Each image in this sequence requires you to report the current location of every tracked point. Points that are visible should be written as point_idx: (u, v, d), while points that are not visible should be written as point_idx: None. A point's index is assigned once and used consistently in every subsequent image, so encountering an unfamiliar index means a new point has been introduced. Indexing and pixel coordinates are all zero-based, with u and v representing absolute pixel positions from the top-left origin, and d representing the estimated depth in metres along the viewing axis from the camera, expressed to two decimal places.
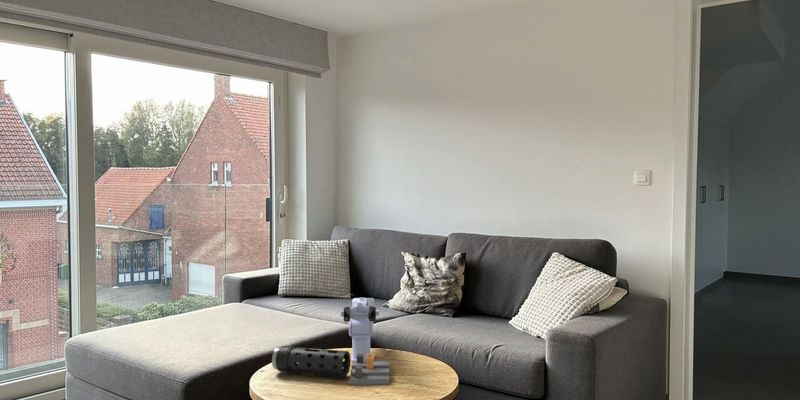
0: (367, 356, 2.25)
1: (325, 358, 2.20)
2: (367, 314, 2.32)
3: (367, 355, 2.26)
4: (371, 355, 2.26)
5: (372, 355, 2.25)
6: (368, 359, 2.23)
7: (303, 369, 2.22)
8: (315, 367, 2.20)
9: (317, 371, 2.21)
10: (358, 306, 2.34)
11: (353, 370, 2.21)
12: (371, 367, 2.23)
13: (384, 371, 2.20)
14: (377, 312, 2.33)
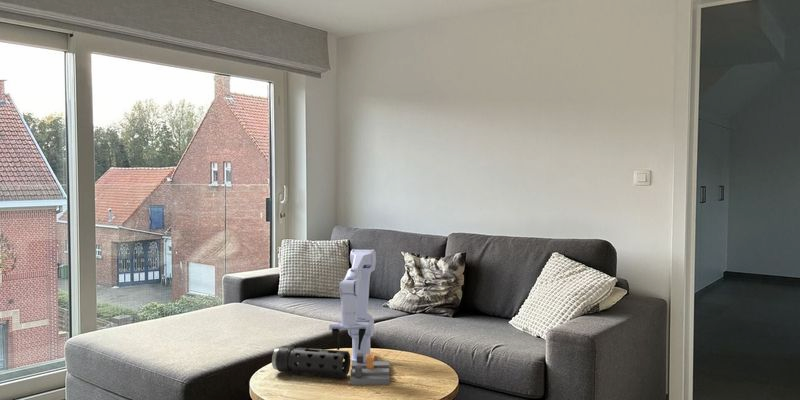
0: (367, 356, 2.25)
1: (325, 358, 2.20)
2: None
3: (367, 355, 2.26)
4: (371, 355, 2.26)
5: (372, 355, 2.25)
6: (368, 359, 2.23)
7: (303, 369, 2.22)
8: (315, 367, 2.20)
9: (317, 371, 2.21)
10: (347, 327, 2.22)
11: (353, 370, 2.21)
12: (371, 367, 2.23)
13: (384, 371, 2.20)
14: (367, 329, 2.24)
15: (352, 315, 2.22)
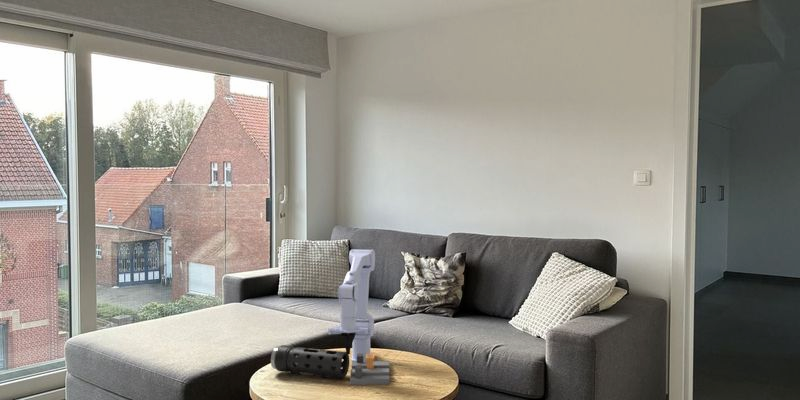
0: (367, 356, 2.25)
1: (323, 359, 2.19)
2: None
3: (367, 355, 2.26)
4: (371, 355, 2.26)
5: (372, 355, 2.25)
6: (368, 359, 2.23)
7: (302, 370, 2.22)
8: (314, 368, 2.20)
9: (316, 372, 2.20)
10: None
11: (353, 370, 2.21)
12: (371, 367, 2.23)
13: (384, 371, 2.20)
14: (366, 333, 2.24)
15: (351, 320, 2.22)
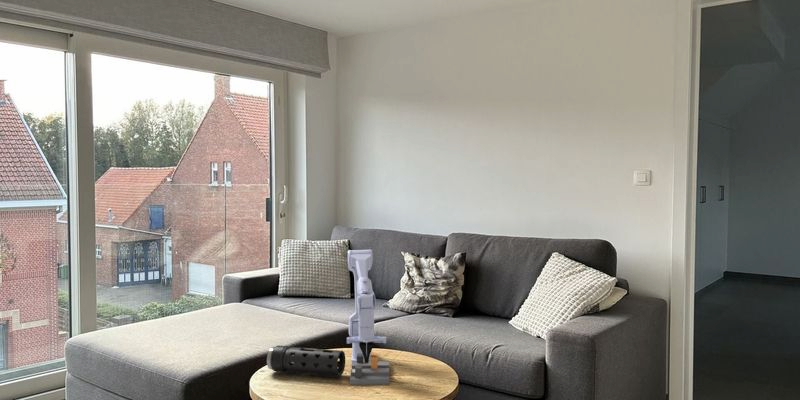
0: (371, 355, 2.25)
1: (320, 357, 2.20)
2: None
3: (371, 355, 2.26)
4: (375, 355, 2.26)
5: (376, 355, 2.26)
6: (372, 359, 2.23)
7: (298, 369, 2.22)
8: (310, 366, 2.21)
9: (312, 370, 2.21)
10: None
11: (353, 370, 2.21)
12: (375, 367, 2.23)
13: (384, 371, 2.20)
14: (384, 342, 2.24)
15: (370, 329, 2.22)
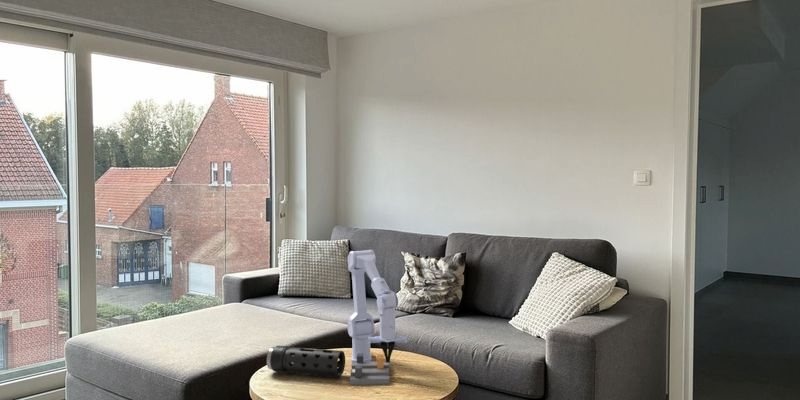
0: (377, 355, 2.25)
1: (320, 358, 2.20)
2: (395, 342, 2.25)
3: (377, 355, 2.26)
4: (381, 355, 2.26)
5: (382, 355, 2.26)
6: (378, 359, 2.23)
7: (298, 369, 2.22)
8: (310, 367, 2.21)
9: (312, 371, 2.21)
10: None
11: (353, 370, 2.21)
12: (381, 367, 2.23)
13: (384, 371, 2.20)
14: (406, 342, 2.25)
15: (391, 329, 2.22)
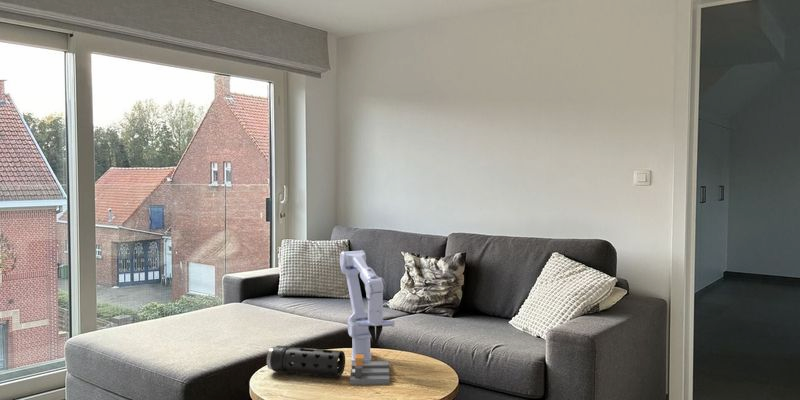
0: (356, 356, 2.25)
1: (320, 358, 2.20)
2: None
3: (356, 355, 2.26)
4: (360, 355, 2.26)
5: (361, 355, 2.25)
6: (357, 359, 2.23)
7: (298, 369, 2.22)
8: (310, 367, 2.21)
9: (312, 371, 2.21)
10: None
11: (353, 370, 2.21)
12: None
13: (384, 371, 2.20)
14: (393, 326, 2.30)
15: (379, 313, 2.28)
